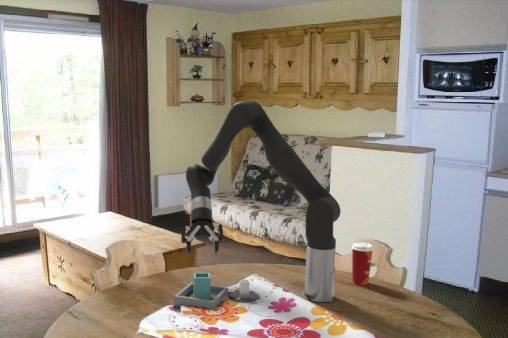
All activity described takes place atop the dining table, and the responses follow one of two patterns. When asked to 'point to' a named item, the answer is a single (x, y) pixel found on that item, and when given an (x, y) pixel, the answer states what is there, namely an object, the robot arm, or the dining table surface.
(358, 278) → the paper cup
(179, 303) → the charcoal tray
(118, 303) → the dining table surface
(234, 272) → the dining table surface
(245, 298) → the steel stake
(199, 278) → the teal sleeve
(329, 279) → the robot arm
